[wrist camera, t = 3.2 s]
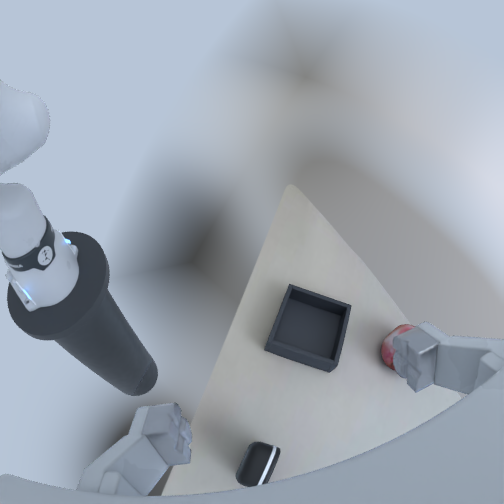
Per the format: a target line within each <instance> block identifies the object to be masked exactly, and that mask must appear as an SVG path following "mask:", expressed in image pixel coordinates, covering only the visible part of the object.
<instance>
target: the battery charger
mask: <svg viewBox="0 0 504 504" xmlns="http://www.w3.org/2000/svg"><path fill="white" fill-rule="evenodd" d="M279 455H280V449H279V448H278V447H276V446H274V445H269V444H266V443H262V442H253V443H252V444H250V445H249V447H248V449H247V451H246V453H245V456H244V458H243V460H242V462H241V464H240V467H239V469H238V471H237V473H236V479H237V481H238V482H239V483H240V484H242V485H244V486H247V487H252V486H257V485H262V484H267V483H268V481H269V479H270V477H271V474H272V472H273V470H274V467H275V465H276V463H277V460H278V458H279Z"/></svg>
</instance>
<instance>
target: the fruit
mask: <svg viewBox="0 0 504 504" xmlns="http://www.w3.org/2000/svg"><path fill="white" fill-rule="evenodd" d="M414 327H415V326H413V325H409V324H404V325H400V326H398V327H397V328H395V329H394V330H393V331H392V332H391V333H390V334H389V335H388V336H387V337H386V338H385V339H384V340H383V342H382V349H381V353H382V358H383V360H384V362H385V364H386V365H387V366H388V367H389V368H391V369H393V370H395V367H394V364H393V355H394V353H395V351H396V349H395V348H394V347H393V338H394V337H395V336H397V335H399V334H402V333H404V332H406V331H408V330H410V329H412V328H414ZM395 371H396V370H395Z"/></svg>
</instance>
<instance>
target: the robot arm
mask: <svg viewBox="0 0 504 504" xmlns="http://www.w3.org/2000/svg"><path fill="white" fill-rule="evenodd" d="M49 117H50V116H49V112H48V109H47V106H46V104H45V103H44V101H43V100H42V99H41V98H39V97H38V96H37V95H35V94H33V93H30V92H23V91H19V90H16V89H13V88H12V87H10V86H8V85H6V84H5V83H4V82H2V81H1V80H0V175H2V174H3V173H5V172H6V171H8V170H10V169H11V168H13V167H15V166H16V165H18V164H20V163H21V162H23V161H24V160H25V159H27V158H28V157H29V156H30V155H32V154H33V153H34V152H35V151H37V150H38V149H39V148H40V147H41V146H43V145H44V144H45V142H46V139H47V137H48V133H49V128H50V118H49ZM68 243H71V242H70V240H67V239H65V238H64V236H63V235H62V233H61V232H60V231H59V230H58V231H57V230H54V229H53V228H52V225H51V223H50V222H49V221H48V219H47V218H46V217H45V216H44V215H43V214H42V212H41V210H40V208H39V206H38V204H37V202H36V199H35V197H34V195H33V193H32V192H31V190H30V189H29V188H27V187H26V186H24V185H22V184H18V183H8V184H4V183H0V249H1V250H2V254H3V256H4V259H5V263H6V265H7V266H8V268H9V269H8V271H7V274H6V275H5V276H6V277H7V279H8V280H9V281H10V283H11V285H12V286H13V288H14V290H15V291H16V293H17V295H18V296H19V298H20V299H21V301H22V302H23V304H24V305H25V307H26V308H27V310H28V311H30V312H31V311H34V310H36V309H38V308H40V307H47V306H52V305H55V304H57V303H59V302H60V301H62V300H63V299H64V298H66V297H67V296H68V295H69V293H70V292H71V291H72V289H73V288H74V286H75V284H76V282H77V279H78V275H79V266H78V262H77V255H78V249H77V247H76V246H75V245H71V244H68ZM28 302H29V303H28ZM393 347H394V348H395V349H396V351H395V353H394V355H393V364H394V367H395V370H396V372H397V373H398V375H399V376H400V377H402V378H407V384H408V385H409V386H410V387H411V388H412V389H413V390H414V391H415V392H418V391H420V390H422V389H424V388H426V387H428V386H430V385H432V384H433V383H434V384H435V385H438V386H441V387H445V388H448V389H451V390H455V391H458V392H461V393H465V394H468V395H467V396H465V397H464V398H463V399H461V400H460V401H458V402H457V403H455V404H454V405H452V406H451V407H449V408H448V409H446V410H445V411H443V412H441V413H440V414H438V415H437V416H435V417H433V418H432V419H430V420H428V421H426V422H425V423H423V424H421V425H419V426H418V427H416V428H414V429H412V430H410V431H408V432H407V433H405V434H403V435H401V436H399V437H397V438H395V439H393V440H391V441H389V442H387V443H384V444H382V445H380V446H378V447H376V448H374V449H371V450H369V451H367V452H364V453H362V454H360V455H357V456H355V457H352V458H350V459H347V460H344V461H342V462H339V463H336V464H333V465H331V466H328V467H325V468H322V469H319V470H315V471H312V472H309V473H306V474H302V475H299V476H295V477H292V478H288V479H284V480H280V481H276V482H271V483H267V484H262V485H257V486H252V487H247V488H241V489H235V490H229V491H222V492H214V493H204V494H193V495H178V496H147V495H148V494H149V492H150V491H151V490H152V489H153V487H154V486H155V484H156V483H157V482H158V481H159V479H160V478H161V477H162V475H163V474H164V473H165V471H166V470H167V469H168V467H169V466H172V465H181V464H189V463H190V459H191V449H190V448H189V446H188V445H189V444H190V443H191V442H192V432H191V428H190V425H189V423H188V421H187V419H186V418H184V417H182V416H181V411H182V410H181V408H180V407H179V405H178V404H177V403H169V404H161V405H154V406H146V407H139V408H138V409H137V410H136V413H135V416H134V419H133V422H132V425H131V428H130V431H129V434H128V436H124V437H123V438H121V439H120V440H119V441H118V442H117V443H115V444H114V445H113V446H112V447H111V448H109V449H108V450H107V451H106V452H105V453H103V454H102V455H101V456H100V457H98V458H97V459H96V460H95V461H94V462H92V463H91V464H90V465H89V466H87V467H86V468H85V469H84V471H83V474H82V476H81V479H80V481H79V484H78V487H77V489H76V490H72V489H66V488H61V487H56V486H50V485H46V484H42V483H38V482H34V481H30V480H27V479H23V478H20V477H17V476H14V475H9V474H4V475H1V476H0V504H504V339H493V338H478V337H465V336H452V337H450V336H448V335H447V334H446V333H444V332H443V331H441V330H439V329H438V328H437V327H435V326H433V325H432V324H430V323H429V322H423V323H421V324H419V325H417V326H415V327H414V328H412V329H410V330H408V331H406V332H404V333H402V334H399V335H397V336H395V337H394V338H393Z"/></svg>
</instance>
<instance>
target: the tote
mask: <svg viewBox="0 0 504 504" xmlns="http://www.w3.org/2000/svg"><path fill="white" fill-rule="evenodd" d="M350 311H351V305H349V304H346V303H343V302H340V301H337V300H335V299H332V298H329V297H326V296H323V295H320V294H317V293H314V292H312V291H309V290H306V289H303V288H300V287H297V286H294V285H291V284H289V286H288V289H287V291H286V294H285V297H284V299H283V302H282V305H281V307H280V310H279V313H278V315H277V318H276V320H275V323H274V325H273V328H272V330H271V333H270V336H269V338H268V341H267V343H266V346H265V349H264V350H265V351H268V352H270V353H273V354H276V355H279V356H282V357H284V358H287V359H290V360H293V361H296V362H299V363H302V364H305V365H308V366H311V367H314V368H317V369H320V370H324V371H327V372H331V371H332V370H333V369H334V368H335V367H337V366H338V362H339V358H340V354H341V350H342V346H343V342H344V338H345V333H346V329H347V324H348V320H349V315H350Z"/></svg>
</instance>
